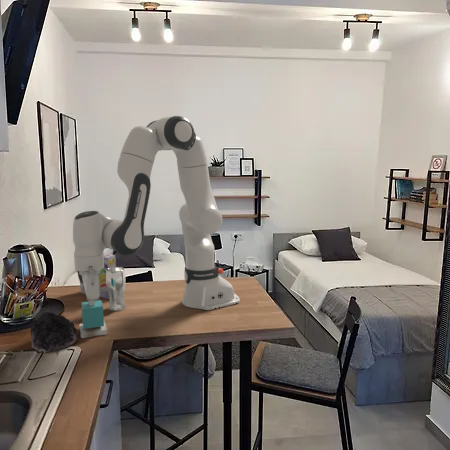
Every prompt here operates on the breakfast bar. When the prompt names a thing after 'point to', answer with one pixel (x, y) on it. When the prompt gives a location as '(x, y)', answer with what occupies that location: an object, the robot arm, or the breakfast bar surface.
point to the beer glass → (115, 288)
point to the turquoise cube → (92, 315)
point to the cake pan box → (101, 276)
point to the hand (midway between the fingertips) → (91, 304)
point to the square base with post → (93, 331)
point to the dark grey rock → (52, 332)
